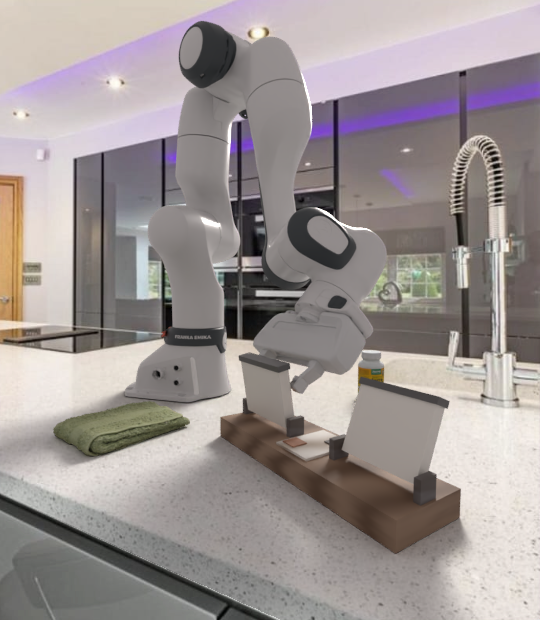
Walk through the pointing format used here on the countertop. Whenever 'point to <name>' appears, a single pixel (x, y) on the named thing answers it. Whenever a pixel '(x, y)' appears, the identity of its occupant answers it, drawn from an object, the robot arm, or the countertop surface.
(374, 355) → the supplement bottle
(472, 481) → the countertop surface
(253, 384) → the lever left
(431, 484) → the switch base
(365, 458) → the grey flat panel
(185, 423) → the washcloth
